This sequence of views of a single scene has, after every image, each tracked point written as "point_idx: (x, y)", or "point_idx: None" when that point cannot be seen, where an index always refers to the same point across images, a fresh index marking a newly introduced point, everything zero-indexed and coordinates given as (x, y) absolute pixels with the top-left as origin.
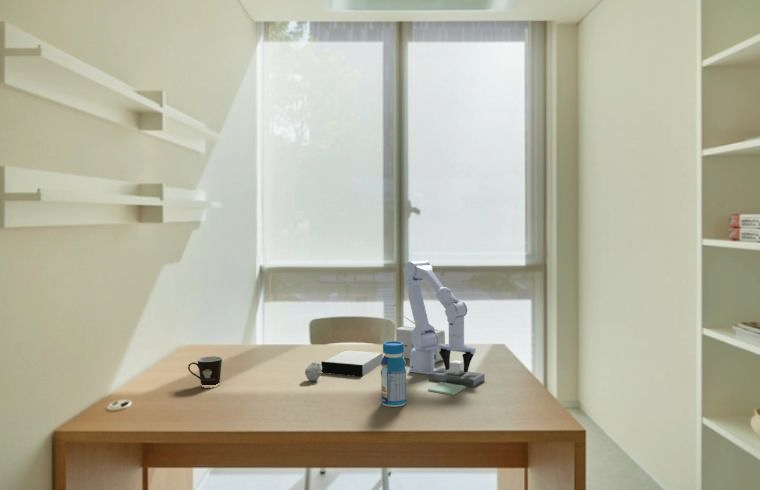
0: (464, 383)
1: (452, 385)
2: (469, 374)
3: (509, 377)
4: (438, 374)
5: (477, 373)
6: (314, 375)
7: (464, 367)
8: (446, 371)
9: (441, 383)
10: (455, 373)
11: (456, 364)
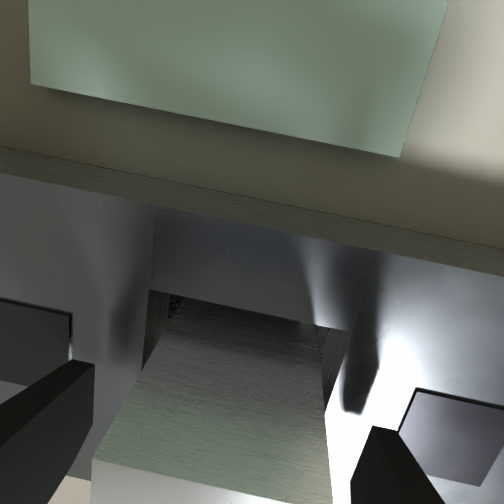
0: (79, 170)
1: (203, 47)
2: None
3: None
4: (481, 297)
5: None
6: None
7: (31, 405)
8: None
9: (380, 93)
10: (224, 344)
11: (165, 453)
